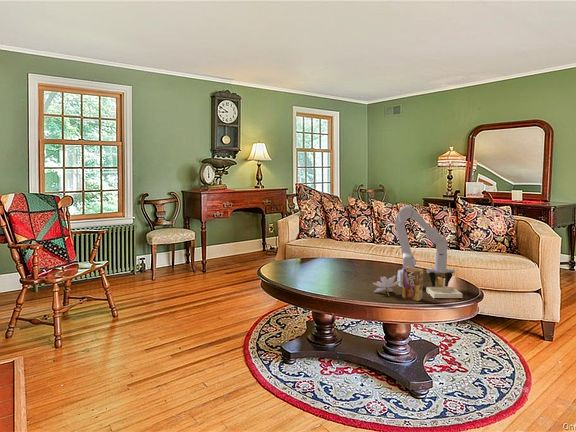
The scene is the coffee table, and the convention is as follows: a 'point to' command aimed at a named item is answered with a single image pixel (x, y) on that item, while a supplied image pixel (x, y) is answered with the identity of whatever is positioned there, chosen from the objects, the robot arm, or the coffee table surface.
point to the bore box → (443, 292)
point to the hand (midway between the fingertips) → (439, 286)
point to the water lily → (386, 284)
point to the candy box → (412, 283)
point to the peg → (439, 282)
